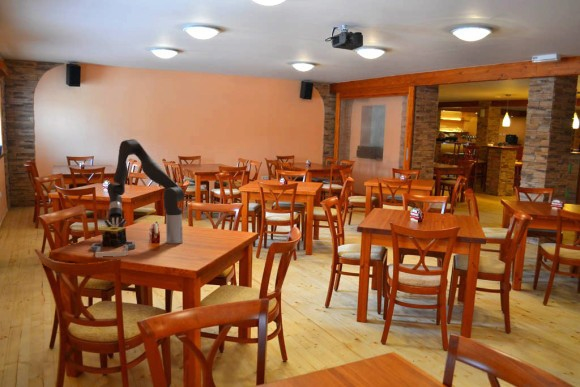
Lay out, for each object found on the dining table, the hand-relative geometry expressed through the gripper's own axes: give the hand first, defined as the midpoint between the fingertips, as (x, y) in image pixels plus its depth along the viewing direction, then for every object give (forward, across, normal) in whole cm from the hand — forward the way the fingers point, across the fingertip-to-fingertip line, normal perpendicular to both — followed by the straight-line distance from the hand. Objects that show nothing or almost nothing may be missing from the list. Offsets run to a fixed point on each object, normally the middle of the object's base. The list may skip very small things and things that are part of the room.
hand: (115, 234), depth 291 cm
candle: (+10, 0, -3) cm, 11 cm away
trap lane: (+19, 0, -13) cm, 23 cm away
